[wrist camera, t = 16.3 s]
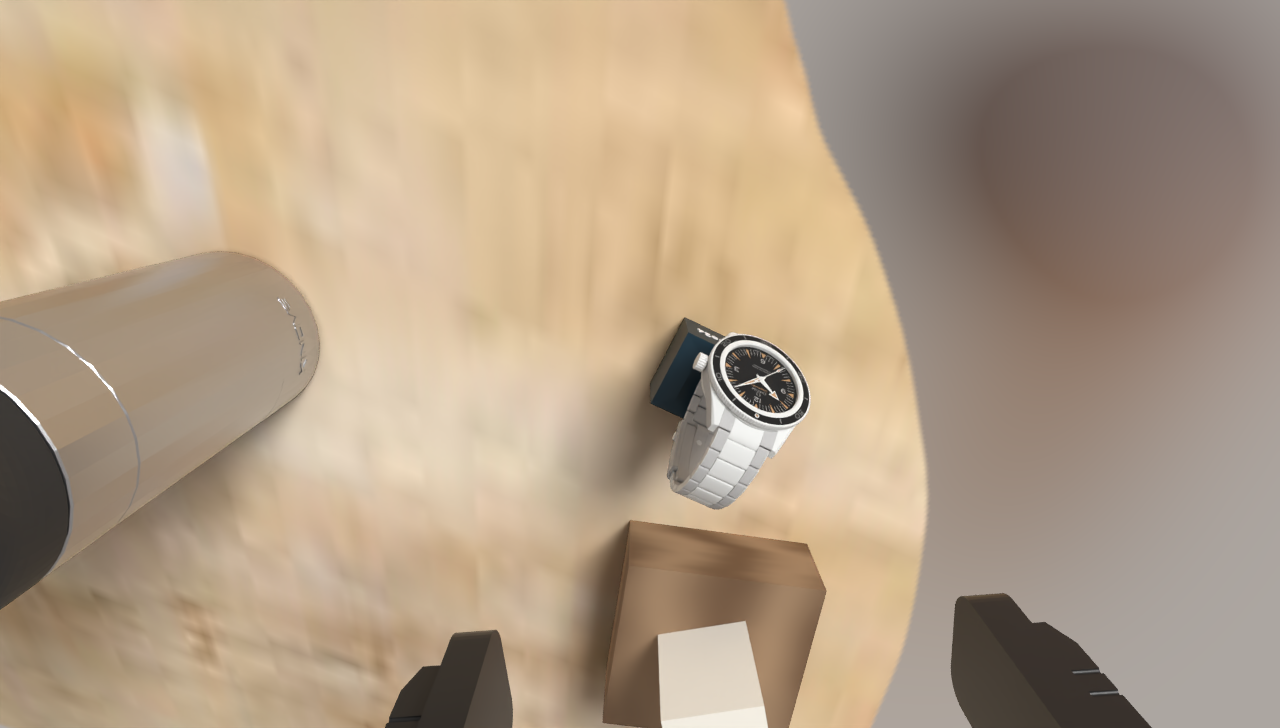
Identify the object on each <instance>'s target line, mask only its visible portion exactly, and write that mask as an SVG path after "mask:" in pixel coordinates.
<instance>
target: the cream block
mask: <svg viewBox="0 0 1280 728" xmlns="http://www.w3.org/2000/svg"><path fill="white" fill-rule="evenodd" d="M658 655H659V684H660V713H661V724H662V728H768V725H767V719H766V713H765V707H764V703H763V698H762V693H761V689H760V684H759V680H758V675H757V671H756V666H755V662H754V657H753V652H752V648H751V643H750V639H749V634H748V630H747V625H746V621H742V622H736V623H729V624H723V625H717V626H710V627H704V628H697V629H691V630H685V631H678V632H672V633H665V634H659V635H658Z"/></svg>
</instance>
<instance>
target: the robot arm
mask: <svg viewBox="0 0 1280 728" xmlns="http://www.w3.org/2000/svg"><path fill="white" fill-rule="evenodd" d="M319 344H320V342H319V335H318V329H317V324H316V322H315V319H314V317H313V314H312V311H311V309H310V307H309V306H308V304H307V302H306V301H305V299H304V297H303V296H302V294H301V293H300V292H299V291H298V289H297V288H296V287H295V286H294V285H293V284H292V283H291V282H290V281H289V280H288V279H287V278H286V277H285V276H284V275H282V274H281V273H280V272H278V271H277V270H276V269H274V268H273V267H271V266H269V265H267V264H266V263H264V262H262V261H260V260H258V259H256V258H253V257H249V256H246V255H243V254H239V253H233V252H222V251H217V252H209V253H201V254H197V255H193V256H188V257H184V258H180V259H176V260H172V261H168V262H164V263H159V264H155V265H150V266H146V267H142V268H137V269H133V270H129V271H125V272H121V273H117V274H113V275H109V276H104V277H100V278H96V279H92V280H88V281H84V282H80V283H76V284H72V285H67V286H63V287H59V288H55V289H51V290H47V291H43V292H39V293H35V294H30V295H26V296H22V297H18V298H14V299H10V300H6V301H2V302H0V609H2V608H3V607H5V606H6V605H7V604H9V603H10V602H12V601H13V600H14V599H16V598H17V597H18V596H20V595H21V594H23V593H24V592H25V591H27V590H28V589H30V588H31V587H32V586H34V585H35V584H36V583H38V582H39V581H40V580H42V579H43V578H44V577H46V576H47V575H49V574H50V573H51V572H53V571H54V570H56V569H57V568H58V567H60V566H61V565H63V564H64V563H65V562H67V561H68V560H70V559H71V558H72V557H74V556H75V555H76V554H78V553H79V552H81V551H82V550H83V549H85V548H86V547H88V546H89V545H90V544H92V543H93V542H95V541H96V540H97V539H99V538H100V537H101V536H103V535H104V534H105V533H106V532H108V531H109V530H111V529H112V528H113V527H115V526H116V525H118V524H119V523H120V522H122V521H123V520H125V519H126V518H127V517H129V516H130V515H132V514H133V513H134V512H136V511H137V510H139V509H140V508H141V507H143V506H144V505H146V504H147V503H148V502H150V501H151V500H153V499H154V498H155V497H157V496H158V495H159V494H161V493H162V492H164V491H165V490H166V489H168V488H169V487H171V486H172V485H173V484H175V483H176V482H178V481H179V480H180V479H182V478H183V477H185V476H186V475H187V474H189V473H190V472H192V471H193V470H194V469H196V468H197V467H199V466H200V465H201V464H203V463H204V462H206V461H207V460H208V459H210V458H211V457H213V456H214V455H215V454H217V453H218V452H220V451H221V450H222V449H224V448H225V447H226V446H228V445H229V444H231V443H232V442H233V441H235V440H236V439H238V438H239V437H240V436H242V435H243V434H245V433H246V432H247V431H249V430H250V429H252V428H253V427H255V426H256V425H258V424H259V423H260V422H262V421H263V420H265V419H266V418H267V417H269V416H270V415H272V414H273V413H274V412H276V411H277V410H278V409H280V408H281V407H283V406H284V405H285V404H287V403H288V402H290V401H291V400H292V399H294V398H295V397H296V396H297V395H298V394H299V393H300V392H301V391H302V390H303V389H304V388H305V387H306V386H307V384H308V383H309V381H310V379H311V378H312V376H313V375H314V372H315V369H316V366H317V362H318V359H319ZM951 676H952V682H953V687H954V691H955V694H956V697H957V700H958V702H959V705H960V707H961V709H962V710H963V712H964V714H965V716H966V717H967V719H968V721H969V723H970V724H971V726H972V728H1151V726H1150V725H1149V724H1148V723H1147V722H1146V721H1145V720H1144V718H1142V716H1141V715H1140V714H1139V713H1138V712H1137V711H1136V709H1135V708H1134V707H1133V706H1132V705H1131V704H1130V703H1129V702H1128V700H1127V699H1126V698H1125V697H1124V696H1123V695H1119V693H1118V689H1117V688H1116V687H1115V686H1114V684H1112V682H1111V681H1110V680H1109V679H1108V678H1107V677H1106V675H1105V674H1104V673H1103V674H1101V673H1100V671H1099V667H1098V666H1097V665H1096V664H1095V663H1094V662H1093V661H1092V660H1091V658H1090V657H1089V656H1088V655H1087V654H1086V653H1085V652H1084V651H1083V649H1082V648H1081V647H1080V646H1079V645H1078V644H1077V643H1076V642H1075V641H1073V640H1072V639H1070V638H1069V637H1067V636H1065V635H1064V634H1062V633H1061V632H1059V631H1058V630H1056V629H1055V628H1053V627H1052V626H1050V625H1048V624H1047V623H1046V622H1040V623H1032V622H1031V621H1030V620H1029V619H1028V618H1027V616H1026V615H1025V614H1024V613H1023V612H1022V611H1021V609H1020V608H1019V607H1018V606H1017V604H1016V603H1015V602H1014V601H1013V599H1012V598H1011V597H1010V596H1008V595H1007V594H1004V593H1000V594H986V595H973V596H961V597H959V598H958V599H957V601H956V604H955V614H954V628H953V644H952V658H951ZM512 722H513V708H512V698H511V692H510V686H509V681H508V676H507V670H506V665H505V659H504V654H503V648H502V643H501V638H500V635H499V633H498V631H497V630H489V631H476V632H463V633H455V634H453V636H452V637H451V639H450V642H449V645H448V647H447V650H446V652H445V655H444V658H443V660H442V663H441V665H440V666H426V667H422V668H421V669H420V670H419V672H418V673H417V674H416V675H415V676H414V677H413V678H412V679H411V680H410V681H409V682H408V684H407V685H406V686H405V687H404V688H403V689H402V690H401V692H400V694H399V696H398V699H397V701H396V703H395V705H394V708H393V710H392V712H391V715H390V717H389V723H387V724H386V726H385V728H512Z"/></svg>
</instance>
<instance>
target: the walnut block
mask: <svg viewBox="0 0 1280 728" xmlns="http://www.w3.org/2000/svg"><path fill="white" fill-rule="evenodd" d="M825 595H826V588H825V586H824V584H823V581H822V579H821V576H820V574H819V572H818V569H817V567H816V565H815V562H814V560H813V557H812V555H811V553H810V550H809V548H808V545H807V544H804V543H796V542H789V541H781V540H774V539H766V538H759V537H751V536H744V535H736V534H729V533H722V532H714V531H707V530H699V529H692V528H684V527H677V526H669V525H662V524H654V523H647V522H639V521H632V520H630V525H629V531H628V538H627V544H626V550H625V556H624V562H623V568H622V574H621V580H620V586H619V592H618V598H617V604H616V611H615V617H614V623H613V629H612V635H611V641H610V647H609V653H608V659H607V665H606V680H605V695H604V710H603V723H608V724H617V725H625V726H634V727H642V728H662V724H661V713H660V684H659V655H658V635H659V634H665V633H672V632H678V631H685V630H691V629H697V628H704V627H710V626H717V625H723V624H729V623H736V622H742V621H746V625H747V630H748V634H749V639H750V643H751V648H752V652H753V657H754V662H755V666H756V671H757V675H758V680H759V684H760V689H761V693H762V698H763V703H764V707H765V713H766V719H767V725H768V728H789V725H790V721H791V717H792V714H793V710H794V707H795V703H796V699H797V696H798V692H799V689H800V685H801V681H802V678H803V674H804V670H805V667H806V663H807V660H808V656H809V652H810V649H811V645H812V642H813V638H814V634H815V631H816V627H817V624H818V620H819V616H820V613H821V609H822V605H823V602H824V598H825Z"/></svg>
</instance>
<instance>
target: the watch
mask: <svg viewBox="0 0 1280 728" xmlns="http://www.w3.org/2000/svg"><path fill="white" fill-rule="evenodd" d="M809 391H810V390H809V388H808V385H807V381H806V379H805V378H804V376H803V374H802V372H801V371H800V369H799V367H798V366H797V365H796V363H795V362H794V361H793V360H792V359H791V358H790V357H789V356H788V355H787V354H786V353H784V351H782V350H781V349H779V348H778V347H777V346H775V345H774V344H772V343H770V342H768V341H766V340H764V339H762V338H758V337H755V336H752V335H747V334H746V335H745V334H744V335H743V334H737V333H734V332H730V333H729V334H728V335H727V336H726V337H725V336H723V335H721V334H719V333H716V332H714V331H712V330H710V329H708V328H706V327H704V326H702V325H700V324H698V323H696V322H694V321H691V320H689V319H687V318H684V320H683V322H682V324H681V325H680V327H679V329H678V331H677V333H676V335H675V337H674V339H673V341H672V343H671V345H670V347H669V348H668V350H667V352H666V354H665V356H664V358H663V360H662V362H661V364H660V366H659V368H658V370H657V371H656V373H655V375H654V377H653V379H652V381H651V383H650V397H651V404H653V405H655V406H657V407H659V408H662V409H664V410H666V411H668V412H670V413H672V414H675V415H677V416H679V417H681V418H683V420H681V421H679V424H678V427H677V431H676V432H675V433H674V434H673V441H674V442H673V446H672V450H671V455H670V460H669V466H668V472H667V477H668V479H669V480H670V483H671V484H670V487H671V489H672V491H673V492H675V493H678V494H680V495H682V496H685V497H687V498H689V499H691V500H694V501H696V502H698V503H700V504H703V505H705V506H707V507H709V508H712V509H722V508H724V507H727V506H728V505H730V504H731V503H733V502H734V501H735V500H736V499H737V498H738V497H739V496H740V495H741V494H742V493H743V492H744V491H745V490H746V488H747V486H748V485H749V484H750V483H751V482H752V480H753V479H754V477H755V476H756V474H757V473H758V471H759V470H758V469H760V468H761V466H762V464H763V463H764V461H765V459H766V458H767V457H769V458H773V457H774V456H775V455H776V454H777V452H778V451H779V449H780V448H781V446H782V445H783V443H784V442H785V441H786V439H787V437H788V436H789V434H790V433H791V432H792V430H793V429H794V427H795V426H796V425H797V424H799V423H800V422H801V421H802V420H803V419H804V418H805V416H806V415H807V413H808V411H809V407H810V400H811V399H810V398H811V397H810V392H809Z"/></svg>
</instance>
